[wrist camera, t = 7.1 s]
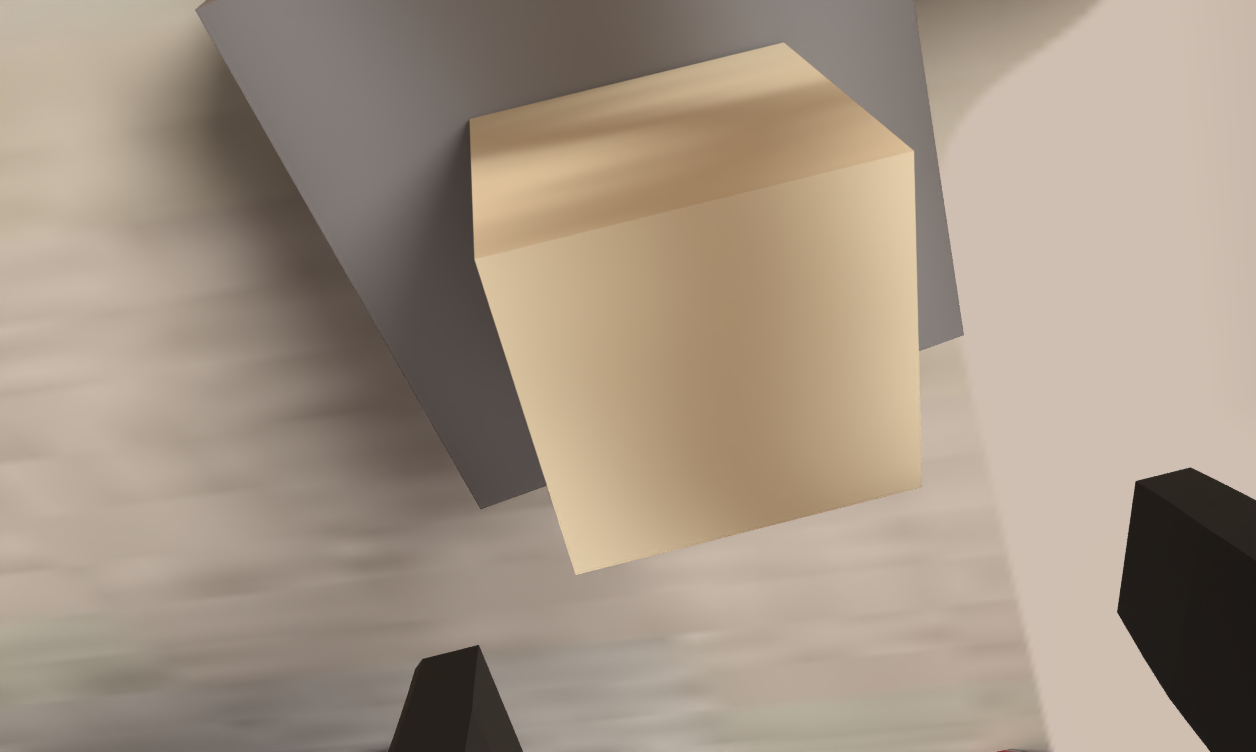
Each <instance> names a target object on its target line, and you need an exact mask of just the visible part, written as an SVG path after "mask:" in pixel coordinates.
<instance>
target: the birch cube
mask: <svg viewBox="0 0 1256 752" xmlns="http://www.w3.org/2000/svg"><path fill="white" fill-rule="evenodd" d="M470 147H471V175H472V204H473V232H474V260H475V263H476V266H477V269H478V272H479V275H480V278H481V281H482V284H483V288H484V291H485V294H486V297H487V300H488V303H489V306H490V309H491V313H492V316H493V319H494V322H495V325H496V328H497V331H498V334H499V337H500V341H501V344H502V347H503V350H504V353H505V356H506V359H507V362H508V366H509V369H510V372H511V375H512V378H513V381H514V384H515V387H516V391H517V394H518V397H519V400H520V403H521V406H522V409H523V412H524V415H525V419H526V422H527V425H528V428H529V431H530V434H531V437H532V440H533V444H534V447H535V450H536V453H537V456H538V459H539V462H540V465H541V469H542V472H543V475H544V478H545V481H546V484H547V487H548V490H549V493H550V497H551V500H552V503H553V506H554V509H555V512H556V515H557V518H558V522H559V525H560V528H561V531H562V534H563V537H564V540H565V543H566V547H567V550H568V553H569V556H570V559H571V562H572V565H573V568H574V571H575V575H578V574H582V573H586V572H590V571H593V570H597V569H601V568H605V567H609V566H613V565H617V564H621V563H625V562H629V561H633V560H637V559H641V558H645V557H649V556H653V555H656V554H660V553H664V552H668V551H672V550H676V549H680V548H684V547H688V546H692V545H696V544H700V543H704V542H708V541H712V540H715V539H719V538H723V537H727V536H731V535H735V534H739V533H743V532H747V531H751V530H755V529H759V528H763V527H767V526H771V525H775V524H778V523H782V522H786V521H790V520H794V519H798V518H802V517H806V516H810V515H814V514H818V513H822V512H826V511H830V510H834V509H838V508H841V507H845V506H849V505H853V504H857V503H861V502H865V501H869V500H873V499H877V498H881V497H885V496H889V495H893V494H897V493H900V492H904V491H908V490H912V489H916V488H920V487H922V463H921V422H920V380H919V338H918V297H917V255H916V213H915V171H914V150H912V149H911V148H910V147H909V146H908V145H906V144H905V143H904V142H903V141H902V140H900V139H899V138H898V137H897V136H896V135H894V134H893V133H892V132H891V131H890V130H888V129H887V128H886V127H885V126H884V125H882V124H881V123H880V122H879V121H878V120H876V119H875V118H874V117H873V116H872V115H870V114H869V113H868V112H867V111H866V110H864V109H863V108H862V107H861V106H860V105H858V104H857V103H856V102H855V101H854V100H852V99H851V98H850V97H849V96H848V95H846V94H845V93H844V92H843V91H842V90H840V89H839V88H838V87H837V86H836V85H834V84H833V83H832V82H831V81H830V80H828V79H827V78H826V77H825V76H824V75H822V74H821V73H820V72H819V71H818V70H816V69H815V68H814V67H813V66H812V65H810V64H809V63H808V62H807V61H806V60H804V59H803V58H802V57H801V56H800V55H798V54H797V53H796V52H795V51H794V50H792V49H791V48H790V47H789V46H788V45H786V44H785V43H784V42H783V43H779V44H775V45H771V46H767V47H763V48H759V49H755V50H751V51H747V52H742V53H738V54H734V55H730V56H726V57H722V58H718V59H714V60H710V61H706V62H701V63H697V64H693V65H689V66H685V67H681V68H677V69H673V70H669V71H664V72H660V73H656V74H652V75H648V76H644V77H640V78H636V79H632V80H628V81H623V82H619V83H615V84H611V85H607V86H603V87H599V88H595V89H591V90H586V91H582V92H578V93H574V94H570V95H566V96H562V97H558V98H554V99H550V100H545V101H541V102H537V103H533V104H529V105H525V106H521V107H517V108H513V109H508V110H504V111H500V112H496V113H492V114H488V115H484V116H480V117H476V118H472V119H470Z"/></svg>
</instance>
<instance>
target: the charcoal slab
mask: <svg viewBox="0 0 1256 752" xmlns="http://www.w3.org/2000/svg"><path fill="white" fill-rule="evenodd" d="M196 12H197V14H198V16H199V17H200V19H201V21H202V23H203V24H204V26H205V28H206V30H207V31H208V33H209V35H210V37H211V38H212V40H213V42H214V44H215V45H216V47H217V49H218V51H219V52H220V54H221V56H222V58H223V59H224V61H225V63H226V65H227V66H228V68H229V70H230V72H231V73H232V75H233V77H234V79H235V80H236V82H237V84H238V86H239V87H240V89H241V91H242V93H243V94H244V96H245V98H246V100H247V101H248V103H249V105H250V107H251V108H252V110H253V112H254V114H255V115H256V117H257V119H258V121H259V122H260V124H261V126H262V128H263V129H264V131H265V133H266V135H267V136H268V138H269V140H270V142H271V143H272V145H273V147H274V149H275V150H276V152H277V154H278V156H279V157H280V159H281V161H282V163H283V164H284V166H285V168H286V170H287V171H288V173H289V175H290V177H291V178H292V180H293V182H294V184H295V185H296V187H297V189H298V191H299V192H300V194H301V196H302V198H303V199H304V201H305V203H306V205H307V206H308V208H309V210H310V212H311V213H312V215H313V217H314V219H315V220H316V222H317V224H318V226H319V227H320V229H321V231H322V233H323V234H324V236H325V238H326V240H327V241H328V243H329V245H330V247H331V248H332V250H333V252H334V254H335V255H336V257H337V259H338V261H339V262H340V264H341V266H342V268H343V269H344V271H345V273H346V275H347V276H348V278H349V280H350V282H351V283H352V285H353V287H354V289H355V290H356V292H357V294H358V296H359V297H360V299H361V301H362V303H363V304H364V306H365V308H366V310H367V311H368V313H369V315H370V317H371V318H372V320H373V322H374V324H375V325H376V327H377V329H378V331H379V332H380V334H381V336H382V338H383V339H384V341H385V343H386V345H387V346H388V348H389V350H390V352H391V353H392V355H393V357H394V359H395V360H396V362H397V364H398V366H399V367H400V369H401V371H402V373H403V374H404V376H405V378H406V380H407V381H408V383H409V385H410V387H411V388H412V390H413V392H414V394H415V395H416V397H417V399H418V401H419V402H420V404H421V406H422V408H423V409H424V411H425V413H426V415H427V416H428V418H429V420H430V422H431V423H432V425H433V427H434V429H435V430H436V432H437V434H438V436H439V437H440V439H441V441H442V443H443V444H444V446H445V448H446V450H447V451H448V453H449V455H450V457H451V458H452V460H453V462H454V464H455V465H456V467H457V469H458V471H459V472H460V474H461V476H462V478H463V479H464V481H465V483H466V485H467V486H468V488H469V490H470V492H471V493H472V495H473V497H474V499H475V500H476V502H477V504H478V506H479V507H480V509H483V508H486V507H488V506H491V505H494V504H497V503H499V502H502V501H505V500H508V499H510V498H513V497H516V496H519V495H522V494H524V493H527V492H530V491H533V490H535V489H538V488H541V487H544V486H547V484H546V481H545V478H544V475H543V472H542V469H541V465H540V462H539V459H538V456H537V453H536V450H535V447H534V444H533V440H532V437H531V434H530V431H529V428H528V425H527V422H526V419H525V415H524V412H523V409H522V406H521V403H520V400H519V397H518V394H517V391H516V387H515V384H514V381H513V378H512V375H511V372H510V369H509V366H508V362H507V359H506V356H505V353H504V350H503V347H502V344H501V341H500V337H499V334H498V331H497V328H496V325H495V322H494V319H493V316H492V313H491V309H490V306H489V303H488V300H487V297H486V294H485V291H484V288H483V284H482V281H481V278H480V275H479V272H478V269H477V266H476V263H475V260H474V232H473V204H472V175H471V147H470V119H472V118H476V117H480V116H484V115H488V114H492V113H496V112H500V111H504V110H508V109H513V108H517V107H521V106H525V105H529V104H533V103H537V102H541V101H545V100H550V99H554V98H558V97H562V96H566V95H570V94H574V93H578V92H582V91H586V90H591V89H595V88H599V87H603V86H607V85H611V84H615V83H619V82H623V81H628V80H632V79H636V78H640V77H644V76H648V75H652V74H656V73H660V72H664V71H669V70H673V69H677V68H681V67H685V66H689V65H693V64H697V63H701V62H706V61H710V60H714V59H718V58H722V57H726V56H730V55H734V54H738V53H742V52H747V51H751V50H755V49H759V48H763V47H767V46H771V45H775V44H779V43H783V42H784V43H785V44H786V45H788V46H789V47H790V48H791V49H792V50H794V51H795V52H796V53H797V54H798V55H800V56H801V57H802V58H803V59H804V60H806V61H807V62H808V63H809V64H810V65H812V66H813V67H814V68H815V69H816V70H818V71H819V72H820V73H821V74H822V75H824V76H825V77H826V78H827V79H828V80H830V81H831V82H832V83H833V84H834V85H836V86H837V87H838V88H839V89H840V90H842V91H843V92H844V93H845V94H846V95H848V96H849V97H850V98H851V99H852V100H854V101H855V102H856V103H857V104H858V105H860V106H861V107H862V108H863V109H864V110H866V111H867V112H868V113H869V114H870V115H872V116H873V117H874V118H875V119H876V120H878V121H879V122H880V123H881V124H882V125H884V126H885V127H886V128H887V129H888V130H890V131H891V132H892V133H893V134H894V135H896V136H897V137H898V138H899V139H900V140H902V141H903V142H904V143H905V144H906V145H908V146H909V147H910V148H911V149H912V150H914V171H915V213H916V255H917V297H918V338H919V351H921V350H924V349H926V348H929V347H932V346H935V345H938V344H940V343H943V342H946V341H949V340H951V339H954V338H957V337H960V336H962V335H964V333H963V326H962V320H961V313H960V306H959V300H958V293H957V286H956V280H955V273H954V266H953V259H952V253H951V246H950V239H949V233H948V226H947V219H946V213H945V206H944V199H943V193H942V186H941V179H940V173H939V166H938V159H937V153H936V146H935V139H934V133H933V126H932V119H931V113H930V106H929V99H928V93H927V86H926V79H925V73H924V66H923V59H922V53H921V46H920V39H919V33H918V26H917V19H916V13H915V6H914V0H206V1H205V2H204V3H203V4H201V5H200V6H199V7H198V8H197V9H196Z"/></svg>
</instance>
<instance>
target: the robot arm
mask: <svg viewBox="0 0 1256 752" xmlns="http://www.w3.org/2000/svg"><path fill="white" fill-rule="evenodd" d="M1117 613H1118V614H1119V616H1120V618H1121V619H1122V621H1123V623H1124V625H1125V626H1126V628H1127V630H1128V631H1129V633H1130V635H1131V636H1132V638H1133V640H1134V642H1135V643H1136V645H1137V647H1138V649H1139V650H1140V652H1141V654H1142V655H1143V657H1144V659H1145V660H1146V662H1147V664H1148V665H1149V667H1150V668H1151V670H1152V672H1153V673H1154V675H1155V676H1156V678H1157V680H1158V681H1159V683H1160V684H1161V686H1162V688H1163V689H1164V691H1165V692H1166V694H1167V695H1168V697H1169V699H1170V700H1171V701H1172V702H1173V704H1174V705H1175V706H1176V708H1177V709H1178V710H1179V711H1180V713H1181V714H1182V716H1183V717H1184V718H1185V720H1186V721H1187V722H1188V723H1189V725H1190V726H1191V727H1192V729H1193V730H1194V731H1195V733H1196V734H1197V735H1198V736H1199V738H1200V739H1201V740H1202V741H1203V743H1204V744H1205V745H1206V746H1207V748H1208V749H1209V751H1210V752H1256V500H1254V499H1252V498H1250V497H1248V496H1247V495H1244V494H1243V493H1241V492H1239V491H1237V490H1235V489H1233V488H1231V487H1229V486H1227V485H1225V484H1223V483H1221V482H1219V481H1217V480H1215V479H1213V478H1211V477H1209V476H1207V475H1205V474H1203V473H1201V472H1199V471H1197V470H1195V469H1192V468H1187V469H1183V470H1179V471H1175V472H1171V473H1167V474H1163V475H1159V476H1154V477H1150V478H1147V479H1142V480H1138V481H1136V483H1135V489H1134V497H1133V503H1132V511H1131V518H1130V525H1129V532H1128V539H1127V546H1126V553H1125V560H1124V567H1123V575H1122V582H1121V589H1120V596H1119V603H1118V610H1117ZM388 752H523V751H522V748H521V746H520V743H519V741H518V738H517V736H516V734H515V731H514V729H513V726H512V724H511V722H510V719H509V717H508V714H507V712H506V710H505V707H504V705H503V702H502V700H501V697H500V695H499V693H498V690H497V688H496V685H495V683H494V681H493V678H492V676H491V673H490V671H489V668H488V666H487V664H486V661H485V659H484V656H483V654H482V652H481V649H480V647H479V645H477V646H473V647H469V648H465V649H461V650H457V651H453V652H449V653H445V654H441V655H437V656H433V657H429V658H425V659H422V661H421V662H420V663H419V665H418V666H417V667H416V669H415V672H414V675H413V678H412V682H411V685H410V688H409V691H408V695H407V698H406V701H405V704H404V707H403V710H402V713H401V716H400V719H399V722H398V725H397V728H396V731H395V734H394V737H393V740H392V743H391V745H390V748H389V751H388Z"/></svg>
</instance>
